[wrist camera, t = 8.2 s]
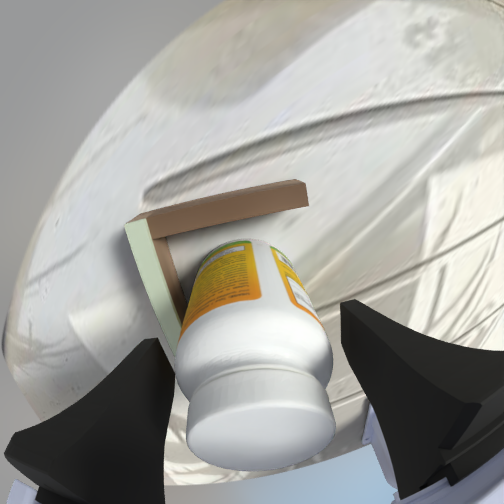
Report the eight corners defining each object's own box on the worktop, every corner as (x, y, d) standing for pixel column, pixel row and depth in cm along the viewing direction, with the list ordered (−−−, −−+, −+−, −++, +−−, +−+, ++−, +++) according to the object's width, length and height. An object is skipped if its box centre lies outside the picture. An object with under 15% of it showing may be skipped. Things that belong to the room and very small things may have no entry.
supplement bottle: (188, 313, 15) (155, 467, 6) (208, 224, 14) (162, 360, 4) (277, 331, 16) (311, 479, 7) (308, 250, 14) (400, 385, 5)
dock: (315, 340, 16) (325, 363, 14) (194, 362, 17) (190, 388, 14) (295, 178, 13) (307, 183, 11) (140, 213, 13) (123, 225, 11)
